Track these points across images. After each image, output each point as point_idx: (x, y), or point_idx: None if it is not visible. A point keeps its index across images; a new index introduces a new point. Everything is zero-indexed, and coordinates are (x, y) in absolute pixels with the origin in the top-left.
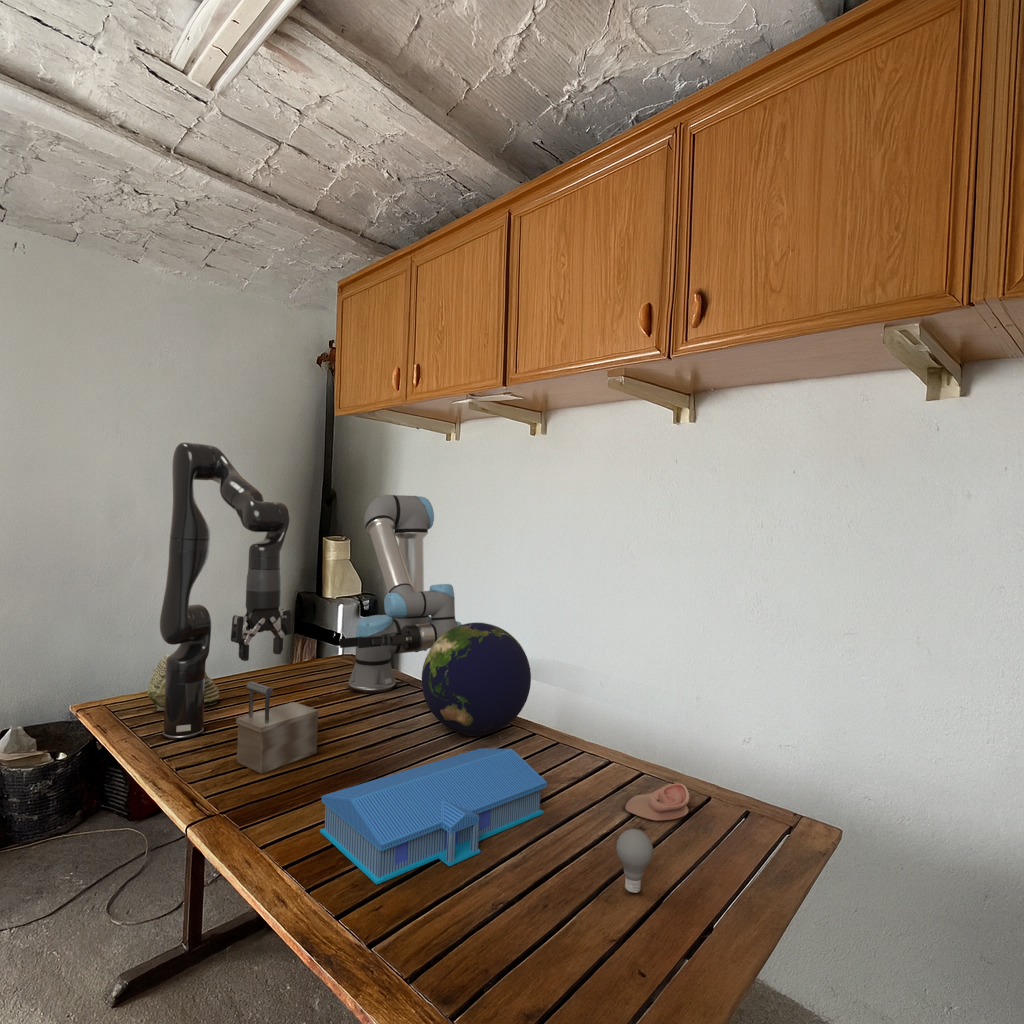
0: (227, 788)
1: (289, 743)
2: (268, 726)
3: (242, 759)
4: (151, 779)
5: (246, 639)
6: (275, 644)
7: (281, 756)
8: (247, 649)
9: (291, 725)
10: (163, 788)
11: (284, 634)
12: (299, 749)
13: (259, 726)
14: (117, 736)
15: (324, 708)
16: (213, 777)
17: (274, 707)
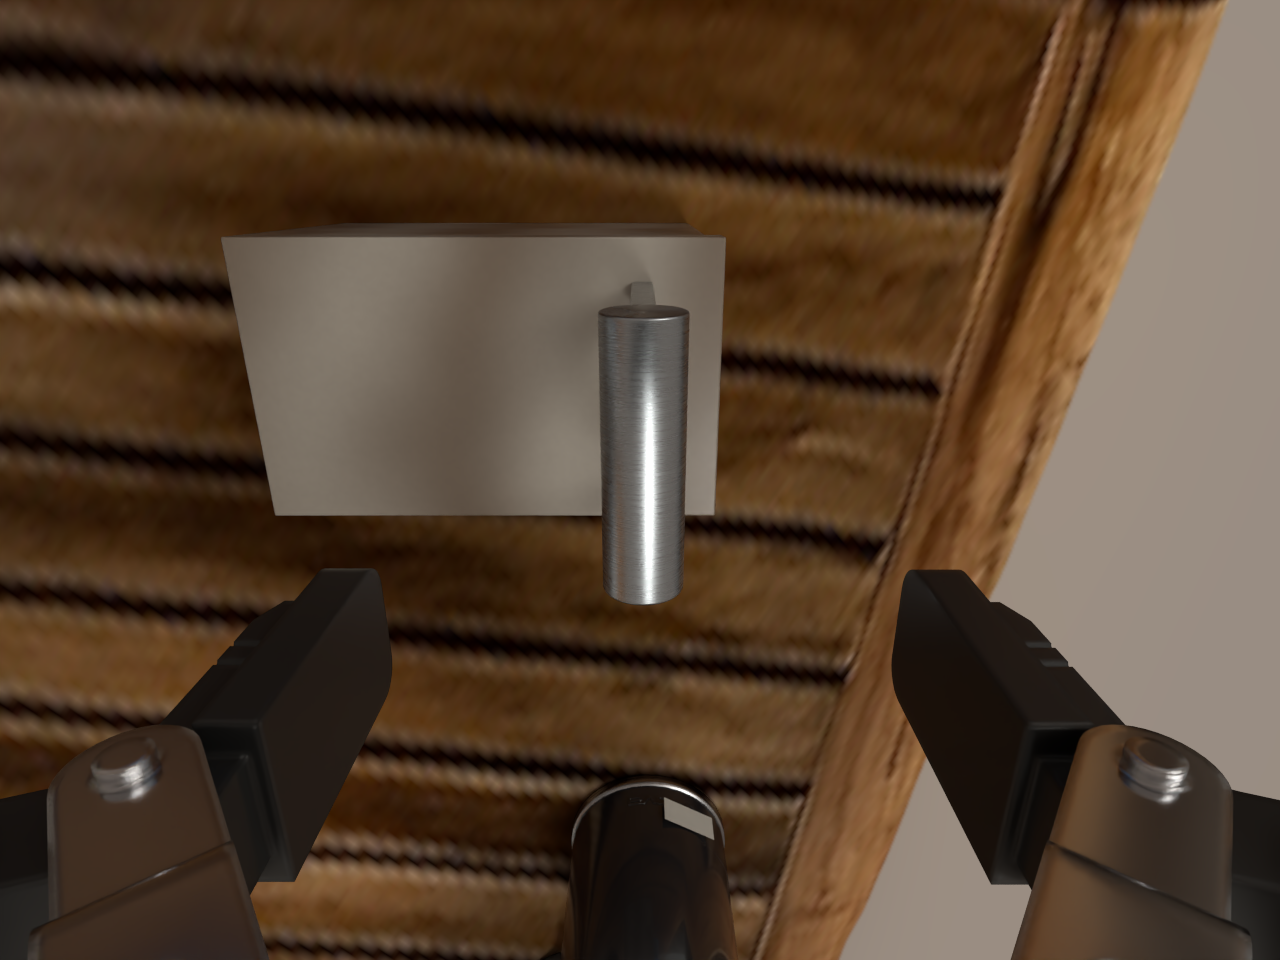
0: (881, 207)
1: (508, 228)
2: (664, 236)
3: None
4: (993, 535)
5: (1199, 824)
6: (332, 734)
7: (568, 225)
8: (1020, 665)
9: (477, 234)
10: (1025, 424)
11: (54, 786)
12: (448, 225)
13: (715, 269)
14: (817, 944)
15: (13, 681)
16: (842, 365)
17: (434, 511)
